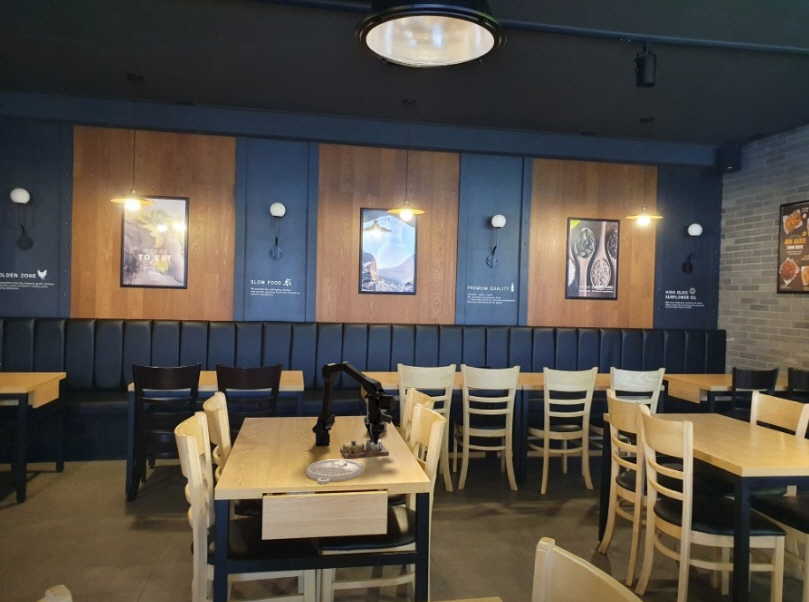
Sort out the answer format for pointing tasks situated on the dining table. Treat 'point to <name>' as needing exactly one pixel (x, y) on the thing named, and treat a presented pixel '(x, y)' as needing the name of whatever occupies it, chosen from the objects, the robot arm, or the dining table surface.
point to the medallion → (334, 470)
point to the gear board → (360, 450)
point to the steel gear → (373, 445)
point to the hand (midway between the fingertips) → (374, 441)
